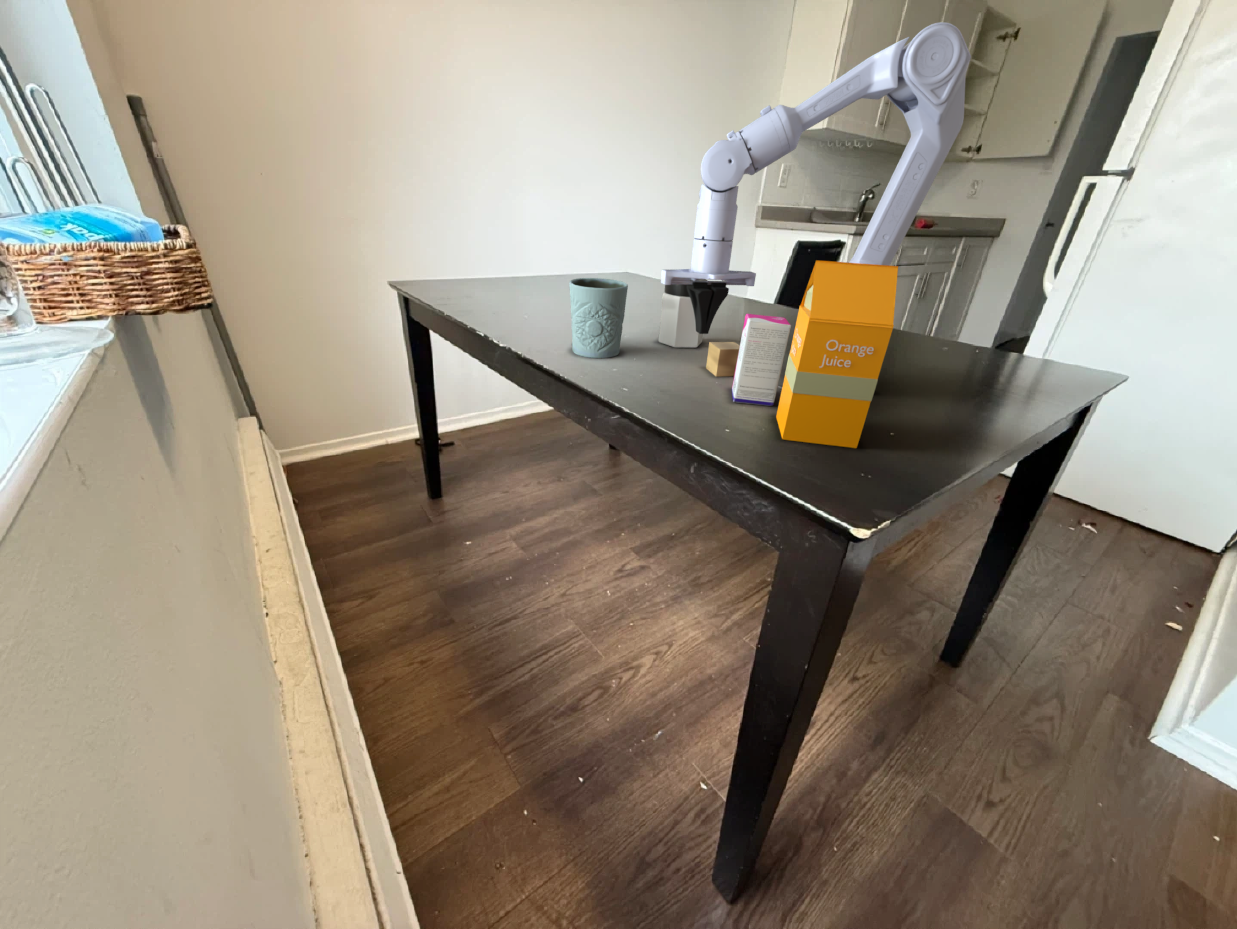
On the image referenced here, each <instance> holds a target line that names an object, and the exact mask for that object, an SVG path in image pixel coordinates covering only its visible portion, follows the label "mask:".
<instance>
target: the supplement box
mask: <svg viewBox="0 0 1237 929" xmlns="http://www.w3.org/2000/svg"><path fill="white" fill-rule="evenodd" d="M791 330H792V325H791V323H790V322H789V320H787V318H786V317H782V316H773V315H764V314H763V315H762V314H754V313H746V314H745V316H744V322H743V326H742V332H741V339H740V344H739V345H740V348H739V353H738V359H737V364H736V369H735V374H734V376H733V381H732V386H731V396H732V402H733V403H738V404H749V405H758V406H765V407H766V406H769V407H773V406H774V405H775V400H776V396H777V391H778V388H779V383H780V379H781V375H782V370H783V365H784V361H785V356H786V353H787V352H786V351H787V348H788V342H789V339H790V333H791Z"/></svg>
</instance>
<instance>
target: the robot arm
mask: <svg viewBox="0 0 1237 929" xmlns="http://www.w3.org/2000/svg"><path fill="white" fill-rule="evenodd" d="M909 39H910V36H907V37H905V38H903V39H901V40H899V41H897V42H895V43H892V44H891V45H888V46H887V47H886V48H884V49H882V50H880V51H878V52H876V53H875V54H872V55H871V56H869V57H868V58H866V59H864V60H863V61H861V62H859V63H858V64H857V65H855V66H854V67H853V68H851V69H850V70H848V71H846V72H845V73H844V74H842V75H840V76H839V77H838V78H836V79H835V80H833V81H832V82H830V83H829V84H827V85H826V86H824V87H823V88H822V89H820V90H818V91H817V92H816V93H814V94H812V95H811V96H810V97H808V98H807V99H805V100H803V101H802V102H800V103H799V104H798V105H796V106H794V107H790V106H787V105H784V104H778V105H776V106H774V107H773V108H772V106H771V105H770V104H769V105H767V106H765V107H763V108H762V109H761V110H760V112H759V117H758V118H756V119H754V120H753V121H752V122H750V123H748V124H747V125H745V126H744V127H741V129H739V130H738V131H736V132H735V130H734V129H733V130H731V131H729V132H728V133H726V138H727V139H720V140H717V141H716V142H714V144H713V145H712V146H711V147H709V148H708V149H707V150H706V152H705V153H704V154H703V157H702V160H701V164H700V176H701V180H702V182H703V183H702V184H701V186H700V189H699V191H698V192H699V193H698V194H699V195H698V198H699V202H698V203H697V205H696V206H697V207H696V214H695V215H696V216H695V225H694V233H693V244H692V252H691V261H690V262H691V263H690V268H678V269H677V268H674V269H673V268H672V269H661V274H660V284H662V285H664V286H665V285H671V284H687V291H688V293H689V296H690V299H691V302H692V306H693V310H694V315H695V324H696V332H698V333H699V334H703V335H708V334H709V332H710V329H711V327H712V324H713V321H714V318H715V316H716V314H717V312H718V310H719V309H720V307H721V306H722V304H723V302H724V301H725V299H726V298H727V297H728V295H729V290H730V288H729V287H727V286H747V287H755V282H756V277H757V272H753V271H746V270H732V269H731V270H730V265H731V257H732V250H733V244H734V237H735V230H736V229H735V228H736V223H737V222H736V221H737V216H738V215H737V214H738V204H737V200H738V192H739V183H740V182H742V181H741V180H742V179H743V177H744V175H749V176H754V175H755V174H757V173H758V172H760V171H762V170H764V169H765V168H767V167H769V166H770V165H772V164H773V163H775V162H777V161H778V160H780V159H781V158H784V157H785V156H787V155H789V154H790V153H792V152H793V151H795V150H796V149H797V147H798V144H799V142H800V139H801V136H802V134H803V133H804V132H805V131H807V130H809V129H810V128H813V127H814V126H815V125H818V124H819V123H821V122H823V121H825V120H826V119H828V118H829V117H831V116H833V115H834V114H836V113H838V112H839V111H842V110H844V109H845V108H846V107H848V106H850V105H852V104H853V103H856V102H857V101H859V100H861V99H865V100H874V101H875V100H876V101H878V100H881V99H882V98H884V97H885V96H886V98H888V100H889V101H890V102H891V103H892V104H893V106H895V107H896V108H897V109H898V110H899V112H901V114H902V115H903V117H904V119H905V122H906V125H907V127H908V129H909V133H910V138H909V139H908V142H907V144H906V146H905V148H904V150H903V151H902V154H901V157H900V158H899V160H898V163H897V165H896V167H895V169H894V171H893V173H892V175H891V176H890V179H889V181H888V183H887V185H886V188H885V189H884V191H883V194H882V196H881V198H880V200H879V202H878V204H877V206H876V208H875V210H874V212H873V214H872V216H871V218H870V221H869V222H868V225H867V227H866V229H865V231H864V233H863V235H862V237H861V239H860V241H859V243H858V246H857V248H856V250H855V251H854V254H853V256H852V257H851V259H850V260H849V261H848V263H861V264H875V265H889V266H891V265H892V262H893V260H894V258H895V256H896V254H897V252H898V250H899V248H900V247H901V245H902V243H903V241H904V239H905V238H906V235H907V233H908V231H909V230H910V227H911V225H912V224H913V221H914V219H915V218H916V216H917V214H918V213H919V212H918V211H919V210H920V208H921V206H922V204H923V202H924V201H925V199H926V197H927V195H928V194H929V191H930V189H931V188H932V185H933V184H934V181H935V180H936V177H937V175H938V173H939V172H940V170H941V167H942V166H943V164H944V163H945V160H946V158H947V156H948V155H949V153H950V151H951V148H952V147H953V145H954V143H955V141H956V139H957V137H958V135H959V134H960V132H961V130H962V127H963V124H964V118H965V99H966V76H967V71H968V69H969V65H970V62H971V59H972V55H971V53H970V50H969V48H968V45H967V43H966V40H965V38H964V36H963V33H962V32H961V30H960V29H959V28H958V27H957V26H956V25H954V24H952V23H950V22H945V21H942V22H935V23H931V24H930V25H927V26H926V27H924V28H923V29H921V30H920V31H919V32H917V34H915V36H914V37H913V38H912V39H911V41H909ZM908 41H909V42H908ZM907 42H908V43H907ZM906 43H907V44H906ZM699 279H706V280H708V281H697V280H699ZM692 280H693V281H692Z"/></svg>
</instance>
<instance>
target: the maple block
mask: <svg viewBox="0 0 1237 929" xmlns="http://www.w3.org/2000/svg"><path fill="white" fill-rule="evenodd" d="M708 343H709V344H708V351H707V357H706V365H705V369H706V370H707V371H708V372H710V373H711V374H712V375H713V376H714V377H718V378H719V377H720V378H721V377H734V374H735V369H736V364H737V359H738V353H739V348H740V344H739V343H737V342H736V341H709V342H708Z"/></svg>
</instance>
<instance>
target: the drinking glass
mask: <svg viewBox="0 0 1237 929" xmlns="http://www.w3.org/2000/svg"><path fill="white" fill-rule="evenodd" d="M568 288H569V300H570V318H571V340H572V342H571V347H572V348H571V349H572V352H573V354H575V355H578V356H579V357H585V358H590V359H591V358H592V359H606V358H607V359H608V358H614V357H616V356H618V355H619V353H620V350H621V341H622V334H623V325H624V320H625V313H626V303H627V296H628V288H629V284H628V283H627V282H624V281H621V280H617V279H610V278H601V277H579V278H573V279H571V280H569V282H568Z"/></svg>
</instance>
